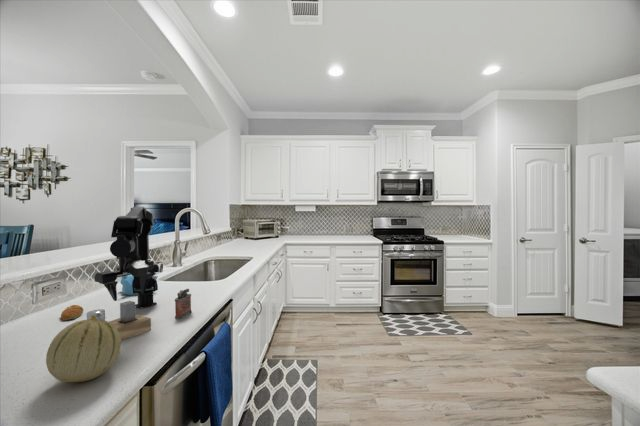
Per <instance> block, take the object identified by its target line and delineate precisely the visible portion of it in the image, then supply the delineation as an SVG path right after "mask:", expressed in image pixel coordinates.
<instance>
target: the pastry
mask: <svg viewBox="0 0 640 426" xmlns="http://www.w3.org/2000/svg"><path fill="white" fill-rule="evenodd" d="M83 313H84V308H83V307H82V306H80V305H78V304H73V305H70V306H67V307H66V308H65V309H64V310H63V311H61V314H60V316H61V319H62V320H63V321H69V320H74V319H77V318H79V317H81V316H82V315H83Z"/></svg>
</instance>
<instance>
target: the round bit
mask: <svg viewBox="0 0 640 426" xmlns="http://www.w3.org/2000/svg"><path fill="white" fill-rule="evenodd" d="M92 315H94V316H96V319H98V320H105V321H106V310H105V309H104V308H103V309H101V308H100V309H98V308H97V309H92V310H91V311H90V310H89V311H87V313H86V320H90V319H92V318H91V317H92Z"/></svg>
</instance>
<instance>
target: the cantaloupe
mask: <svg viewBox="0 0 640 426" xmlns="http://www.w3.org/2000/svg"><path fill="white" fill-rule="evenodd" d="M91 318H92V319H90V320H87V319H83V320H77V321H75V322H73V323H71V324H69V325H67V326H66V327H64V328H62V330H60V331H59V332H58V333H57V334H56V335H55V336H54V337H53V339H52V340H51V342H50V344H49V347H48V349H47V351H46V358H45V364H46V368H47V371H48V372H49V374H50V375H51V376H52V377H53V378H55V379H56V380H57V381H59V382H62V383H63V382H65V383H80V382H87V381H90V380H94V379H96V378H98V377H100V376H101V375H103V374H104V373H105V372H107V371H108V370H109V369H110V368H112V366H113V364H114V363H115V362H116V360H117V359H118V356H119V354H120V352H121V346H122V341H121V337H120V334H119V332H118V330H117V328H116V327H115V326H114V325H113V324H111V323H109V321H107V320H106V319H105V320H98V319H96V316H94V315H92V317H91Z"/></svg>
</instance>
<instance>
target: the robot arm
mask: <svg viewBox="0 0 640 426" xmlns="http://www.w3.org/2000/svg"><path fill="white" fill-rule="evenodd" d="M154 224H155V219H154V215H153V213H152V212H150V211H148V210H147V207H144V206H132V207H131V208H130V210H129V212H128V213H127V214H126V215H120V216H116V218H115V220H113V226H112V231H111V234H110V235H111V236H110V237H111V239H112V238H116V239H115V240H114V241H113V242H112V243H111V244H110V247H109V251H110V254H111V255H113V256H114V257H116V259H117V260H118V267H116V271H111V270H106V271H100V272H96V274H95V275H94V282H96V283H99V284H102V285H103V286H104V287H105V288H106V289H107V292H108V293H109V294H110V297H111V298H112V300H113V301H114V302H117V300H118V299H117V298H118V292H117V285H118V283H119V281H116V280H117V279H118V278H122V276H127V275H132V276H133V277H134V279H133V281H132V288H133V294H135V293H137V294H138V295H137V303H135V308H140V309H146V308H148V307H150V306H155V305H157V304H158V303H157V302H156V301H154V292H156V291H158V290H159V288H158V280H157V279H155V278H154V276H156V275H157V274H156V273H159V272H160V267H159V265H158V264H157V263H154V260H153V259H152V258H151V259H150V245H149V244H150V241H149V239H150V238H149V237H150V236H149V235H150V233H151V232H152V230H153V226H154ZM152 287H153V288H152Z"/></svg>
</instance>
